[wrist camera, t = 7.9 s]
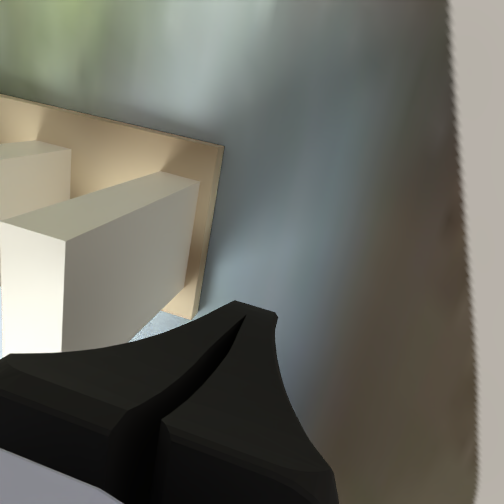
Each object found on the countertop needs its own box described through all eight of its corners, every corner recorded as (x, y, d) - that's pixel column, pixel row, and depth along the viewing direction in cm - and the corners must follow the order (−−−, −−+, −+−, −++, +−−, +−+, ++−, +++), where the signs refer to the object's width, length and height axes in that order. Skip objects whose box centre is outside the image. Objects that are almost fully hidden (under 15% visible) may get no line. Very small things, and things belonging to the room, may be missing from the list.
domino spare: (183, 288, 20) (59, 408, 12) (147, 277, 20) (3, 387, 12) (200, 181, 18) (65, 241, 10) (160, 170, 18) (-1, 221, 10)
